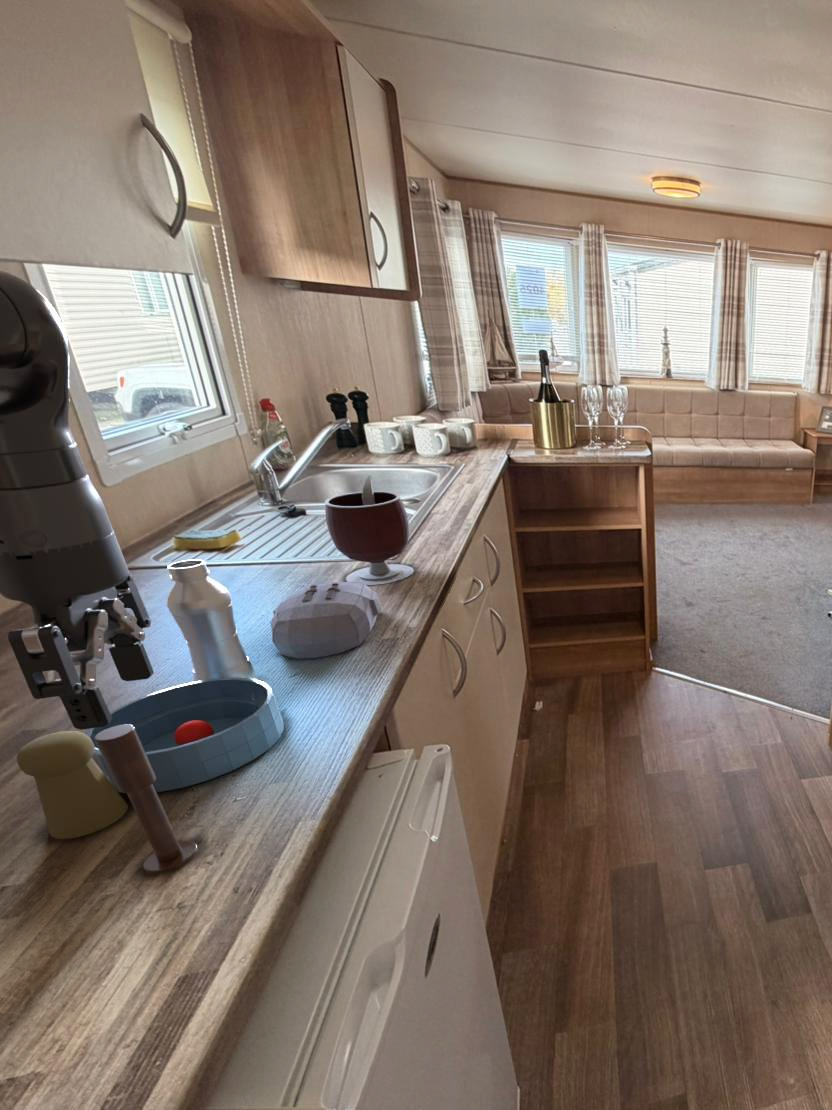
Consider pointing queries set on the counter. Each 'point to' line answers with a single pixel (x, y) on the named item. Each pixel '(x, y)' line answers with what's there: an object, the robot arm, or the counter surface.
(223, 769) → the bowl
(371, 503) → the mate gourd
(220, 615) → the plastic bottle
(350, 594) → the grey rounded bag
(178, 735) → the tomato
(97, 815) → the cork
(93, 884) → the counter surface
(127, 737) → the wooden peg stand
